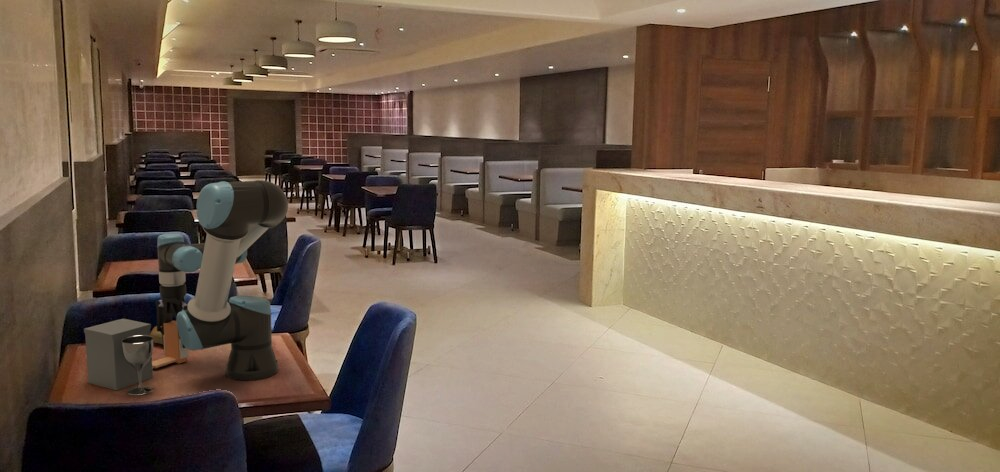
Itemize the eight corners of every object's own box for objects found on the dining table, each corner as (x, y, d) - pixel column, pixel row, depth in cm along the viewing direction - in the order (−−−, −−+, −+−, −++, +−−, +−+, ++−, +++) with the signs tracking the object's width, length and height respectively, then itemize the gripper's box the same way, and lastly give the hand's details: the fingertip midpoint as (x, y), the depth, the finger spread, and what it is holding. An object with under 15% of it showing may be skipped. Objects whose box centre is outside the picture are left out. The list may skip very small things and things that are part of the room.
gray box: (154, 377, 225) (151, 323, 223) (115, 390, 214) (112, 334, 211) (127, 370, 231) (123, 318, 228) (87, 383, 219) (83, 328, 217)
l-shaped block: (187, 360, 240) (185, 323, 238) (157, 370, 230) (155, 332, 228) (173, 357, 242) (172, 320, 240) (144, 367, 233) (141, 329, 231)
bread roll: (165, 338, 263) (164, 316, 262) (199, 343, 258) (198, 321, 257) (143, 346, 255) (141, 322, 253) (178, 351, 249) (176, 328, 248)
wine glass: (118, 393, 212) (114, 341, 210) (140, 384, 220) (137, 333, 217) (140, 397, 209) (137, 344, 207) (162, 388, 217) (159, 337, 214)
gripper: (204, 284, 235) (207, 357, 239) (161, 278, 243) (164, 347, 247) (185, 289, 228) (188, 364, 232) (140, 282, 236) (144, 354, 240)
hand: (176, 355), depth 239 cm, fingers closed on l-shaped block, 6 cm apart
